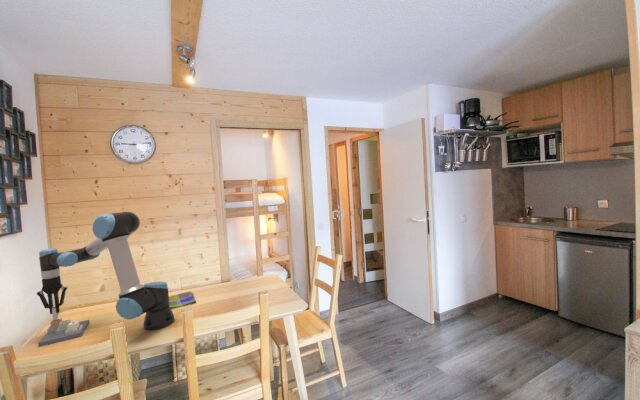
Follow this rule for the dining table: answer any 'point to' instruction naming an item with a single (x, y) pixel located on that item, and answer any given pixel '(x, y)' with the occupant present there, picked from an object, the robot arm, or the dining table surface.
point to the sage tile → (64, 324)
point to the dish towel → (181, 300)
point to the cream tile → (73, 325)
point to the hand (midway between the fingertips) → (55, 318)
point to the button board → (62, 334)
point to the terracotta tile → (55, 323)
